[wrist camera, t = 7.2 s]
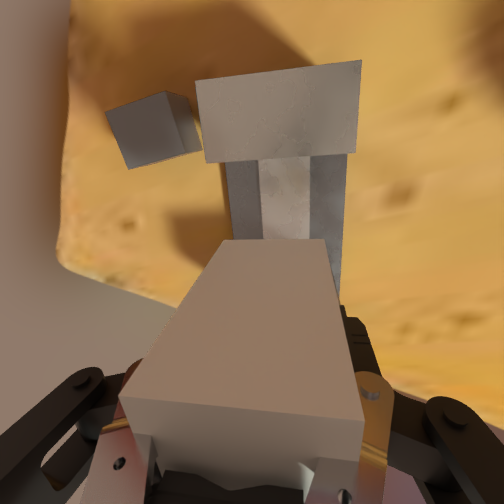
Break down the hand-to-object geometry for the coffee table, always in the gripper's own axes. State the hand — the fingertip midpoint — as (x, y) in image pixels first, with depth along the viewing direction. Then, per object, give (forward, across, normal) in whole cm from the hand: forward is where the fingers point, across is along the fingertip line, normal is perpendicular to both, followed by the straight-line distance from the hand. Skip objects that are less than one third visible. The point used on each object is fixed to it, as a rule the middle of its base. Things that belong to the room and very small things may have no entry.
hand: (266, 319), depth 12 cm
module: (+3, 0, 0) cm, 3 cm away
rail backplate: (+19, 0, 0) cm, 19 cm away
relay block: (+19, +12, -8) cm, 24 cm away
